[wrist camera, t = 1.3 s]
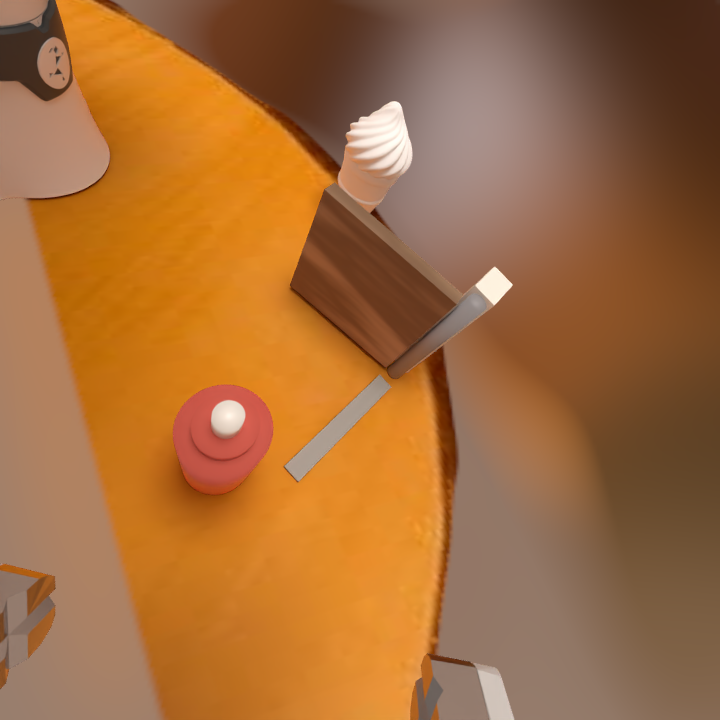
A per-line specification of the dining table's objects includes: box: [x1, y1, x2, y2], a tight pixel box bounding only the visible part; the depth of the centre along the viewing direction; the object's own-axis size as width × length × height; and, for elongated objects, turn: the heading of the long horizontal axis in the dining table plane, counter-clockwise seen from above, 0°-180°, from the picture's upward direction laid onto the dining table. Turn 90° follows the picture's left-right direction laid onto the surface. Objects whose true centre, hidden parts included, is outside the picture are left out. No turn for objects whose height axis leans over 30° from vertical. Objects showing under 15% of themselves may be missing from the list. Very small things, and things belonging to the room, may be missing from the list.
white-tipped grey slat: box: [284, 267, 513, 482], centre depth 35 cm, size 2×22×16 cm, turn 137°
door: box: [290, 183, 463, 368], centre depth 38 cm, size 3×15×14 cm, turn 55°
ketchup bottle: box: [173, 385, 273, 495], centre depth 27 cm, size 6×6×15 cm
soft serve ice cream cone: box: [338, 102, 412, 213], centre depth 46 cm, size 8×8×16 cm
